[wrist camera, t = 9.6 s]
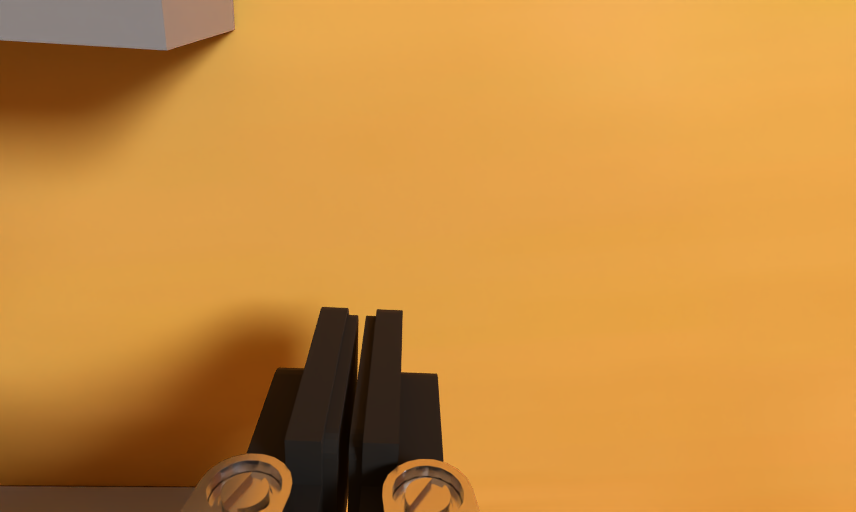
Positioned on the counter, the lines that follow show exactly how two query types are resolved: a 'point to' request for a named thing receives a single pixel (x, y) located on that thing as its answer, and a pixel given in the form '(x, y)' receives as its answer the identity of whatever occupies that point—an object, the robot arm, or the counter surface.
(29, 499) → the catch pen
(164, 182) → the counter surface
